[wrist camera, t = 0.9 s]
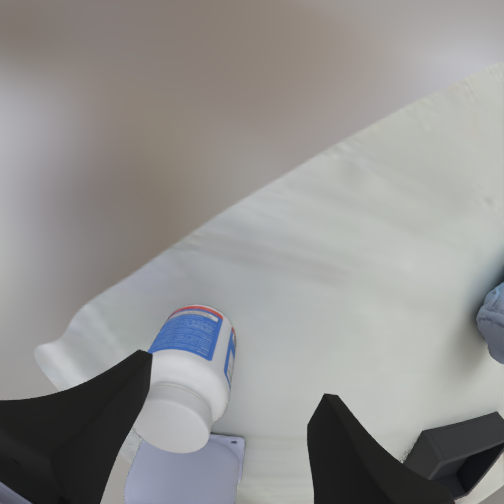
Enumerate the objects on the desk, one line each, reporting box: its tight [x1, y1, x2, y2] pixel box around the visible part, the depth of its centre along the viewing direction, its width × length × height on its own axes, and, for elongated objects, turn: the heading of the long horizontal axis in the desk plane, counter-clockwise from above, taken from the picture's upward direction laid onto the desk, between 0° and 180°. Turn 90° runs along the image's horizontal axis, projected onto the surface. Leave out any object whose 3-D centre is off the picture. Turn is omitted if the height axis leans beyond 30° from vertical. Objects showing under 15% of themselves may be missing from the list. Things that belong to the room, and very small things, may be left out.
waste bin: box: [403, 412, 504, 500], centre depth 23 cm, size 13×13×5 cm
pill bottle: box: [133, 304, 236, 453], centre depth 17 cm, size 6×5×10 cm
